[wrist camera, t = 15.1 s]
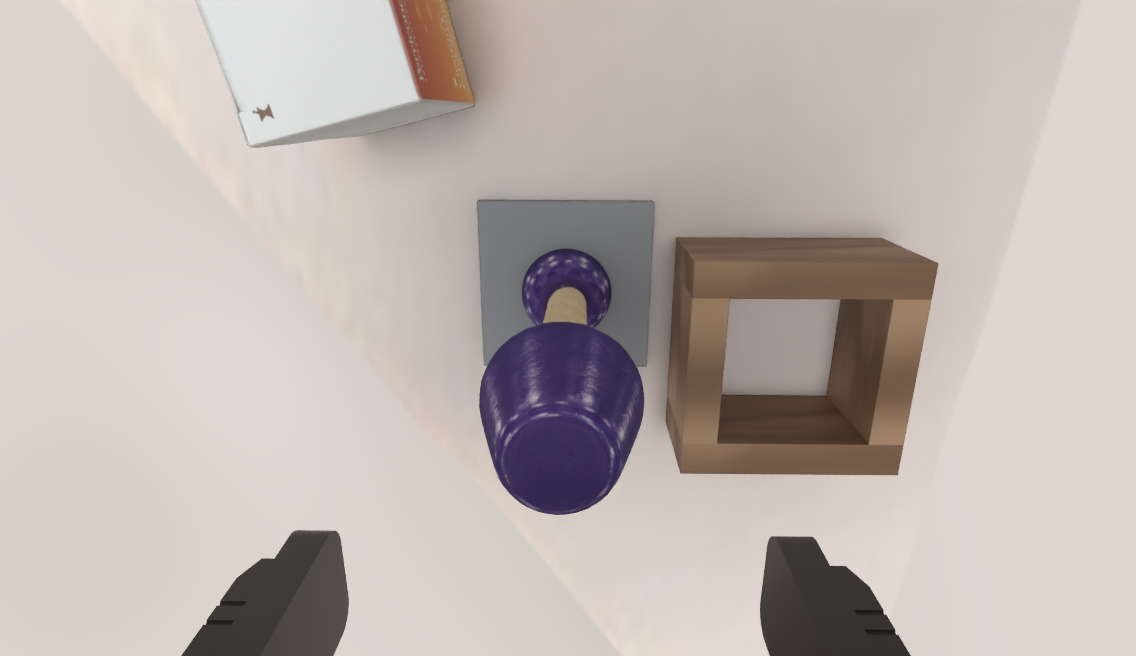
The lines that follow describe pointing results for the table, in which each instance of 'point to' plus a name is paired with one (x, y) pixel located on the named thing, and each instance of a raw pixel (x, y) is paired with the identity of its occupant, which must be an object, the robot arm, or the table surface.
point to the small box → (335, 65)
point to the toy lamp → (561, 391)
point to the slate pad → (547, 225)
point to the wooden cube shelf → (859, 364)
